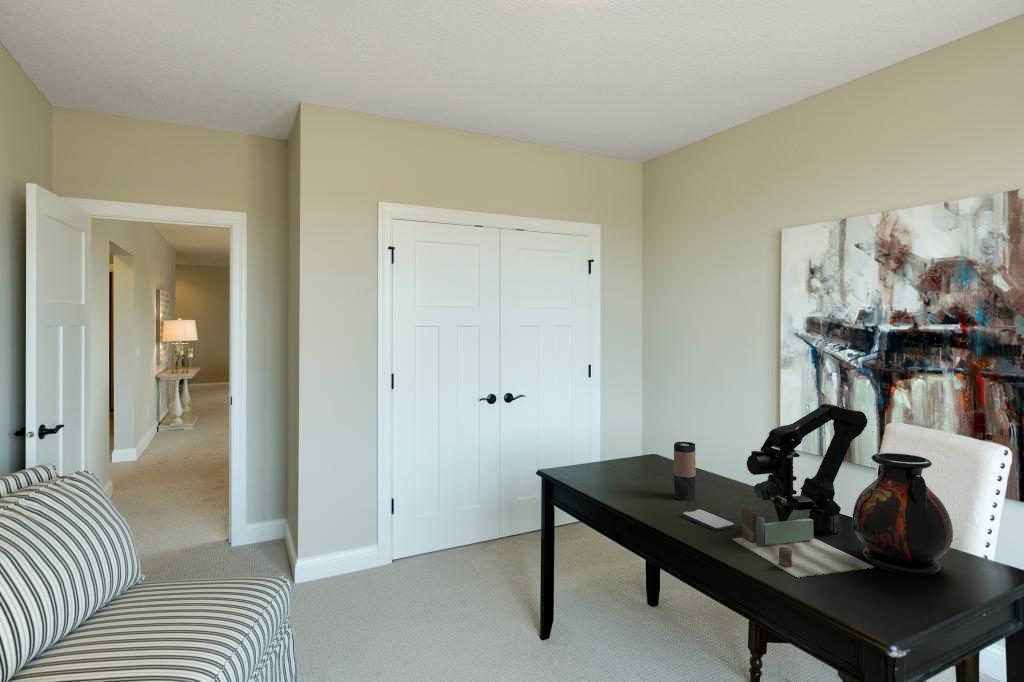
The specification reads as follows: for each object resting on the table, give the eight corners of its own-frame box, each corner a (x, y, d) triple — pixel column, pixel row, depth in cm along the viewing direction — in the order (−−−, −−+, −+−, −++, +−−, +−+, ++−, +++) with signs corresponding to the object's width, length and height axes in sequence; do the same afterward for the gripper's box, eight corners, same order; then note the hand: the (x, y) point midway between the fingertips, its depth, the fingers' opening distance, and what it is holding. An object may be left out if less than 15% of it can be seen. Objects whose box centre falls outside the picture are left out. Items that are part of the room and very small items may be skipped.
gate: (759, 546, 157) (759, 519, 157) (754, 543, 159) (754, 516, 159) (814, 539, 161) (814, 513, 161) (808, 537, 163) (808, 511, 163)
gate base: (799, 532, 170) (799, 502, 169) (873, 567, 144) (873, 533, 144) (732, 539, 164) (732, 509, 164) (796, 578, 139) (796, 542, 139)
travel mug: (700, 499, 203) (700, 444, 202) (683, 502, 200) (682, 446, 200) (686, 494, 210) (686, 440, 210) (669, 496, 207) (669, 442, 207)
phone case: (737, 529, 175) (700, 513, 189) (737, 524, 175) (700, 508, 189) (716, 534, 171) (679, 517, 186) (716, 528, 171) (679, 512, 185)
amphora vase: (837, 547, 158) (837, 448, 157) (919, 549, 156) (920, 449, 155) (878, 581, 137) (878, 467, 136) (974, 584, 134) (975, 468, 134)
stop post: (786, 563, 148) (786, 546, 147) (794, 568, 145) (794, 550, 144) (776, 564, 147) (776, 547, 147) (784, 569, 144) (784, 552, 144)
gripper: (738, 466, 174) (739, 516, 174) (780, 482, 155) (781, 538, 156) (770, 464, 176) (770, 513, 176) (815, 479, 158) (815, 534, 158)
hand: (782, 524), depth 167 cm, fingers closed
